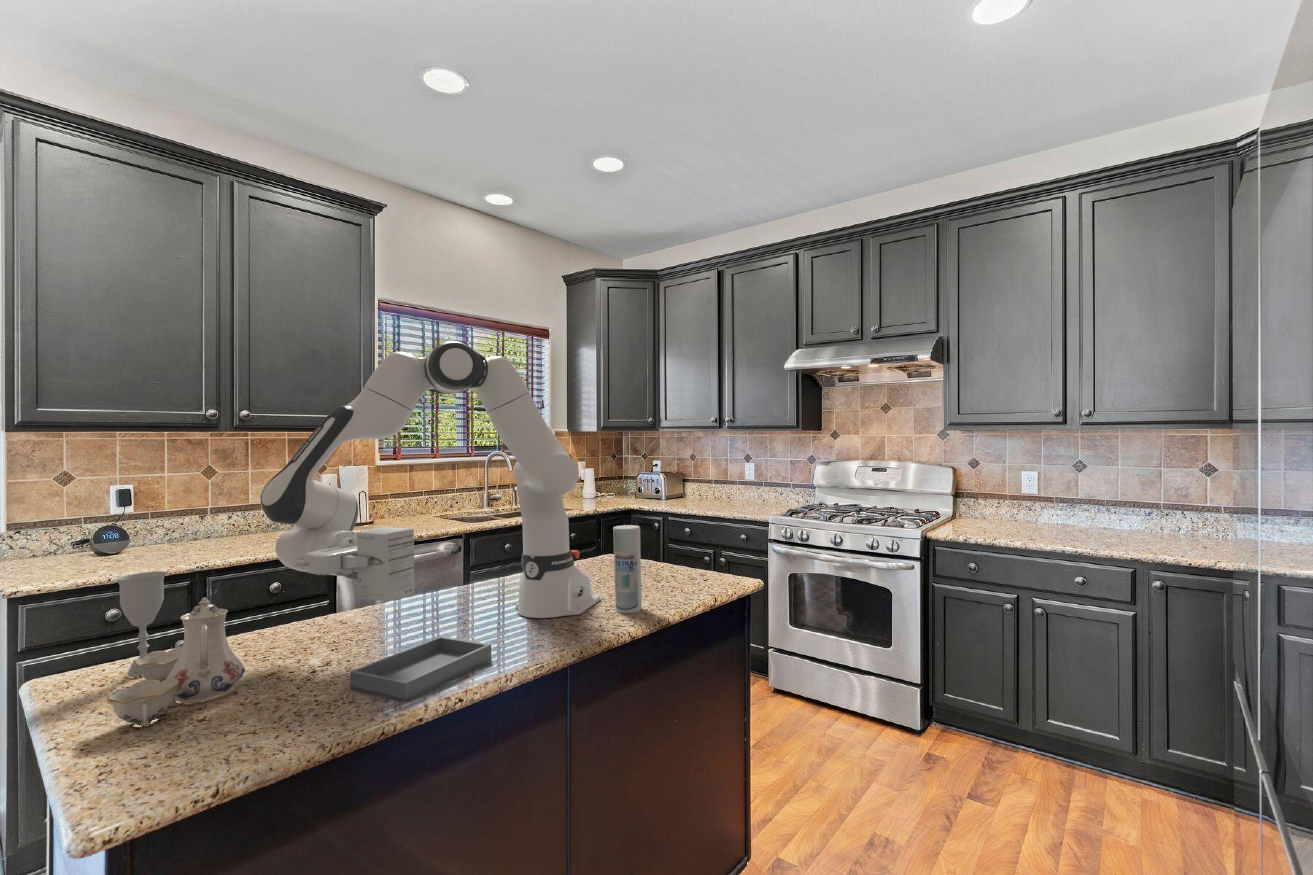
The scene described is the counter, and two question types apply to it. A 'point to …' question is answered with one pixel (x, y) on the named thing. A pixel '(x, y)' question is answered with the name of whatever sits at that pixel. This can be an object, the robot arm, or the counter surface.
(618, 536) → the spray can
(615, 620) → the counter surface
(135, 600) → the chalice
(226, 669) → the chinaware
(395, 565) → the supplement box
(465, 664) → the tray
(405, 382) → the robot arm
